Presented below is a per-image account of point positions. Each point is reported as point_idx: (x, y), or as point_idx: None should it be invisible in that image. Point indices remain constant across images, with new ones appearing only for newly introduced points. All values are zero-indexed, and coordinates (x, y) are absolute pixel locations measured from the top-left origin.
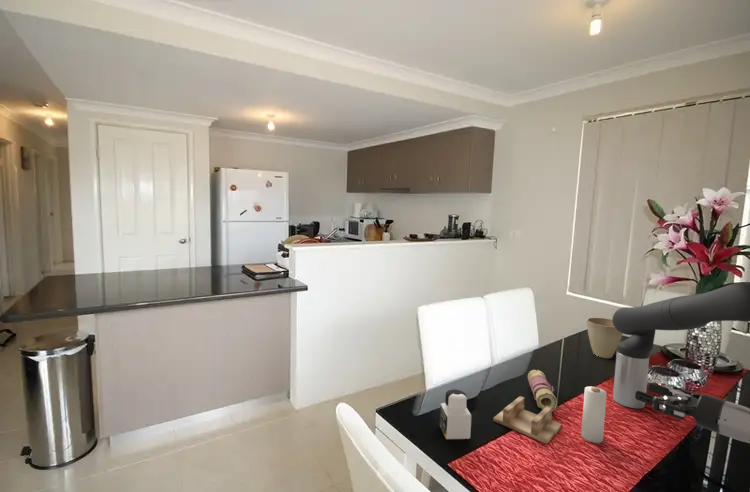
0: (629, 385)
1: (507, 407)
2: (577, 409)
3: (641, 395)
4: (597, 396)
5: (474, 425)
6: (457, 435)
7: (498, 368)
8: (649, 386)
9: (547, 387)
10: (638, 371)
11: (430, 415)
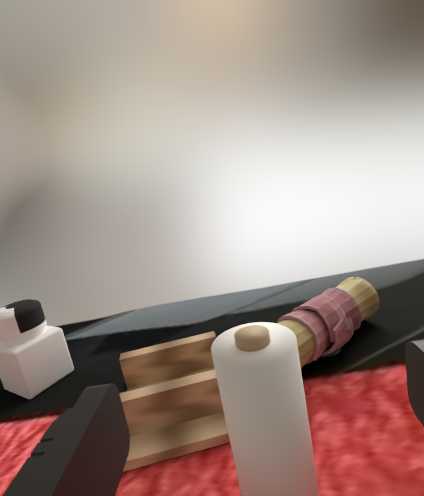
0: None
1: (134, 352)
2: (393, 398)
3: (44, 438)
4: (219, 367)
5: (88, 376)
6: (12, 387)
7: (336, 277)
8: (412, 370)
9: (300, 318)
10: None
11: (74, 343)
